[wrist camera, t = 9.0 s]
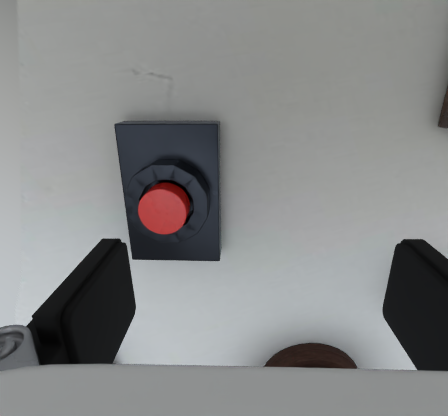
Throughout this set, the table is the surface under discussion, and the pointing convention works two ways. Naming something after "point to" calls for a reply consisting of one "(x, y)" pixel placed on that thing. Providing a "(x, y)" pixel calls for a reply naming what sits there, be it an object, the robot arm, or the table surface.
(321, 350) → the black ball on stand
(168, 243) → the button box
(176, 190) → the button
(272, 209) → the table surface
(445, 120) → the panel
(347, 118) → the table surface
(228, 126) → the table surface
